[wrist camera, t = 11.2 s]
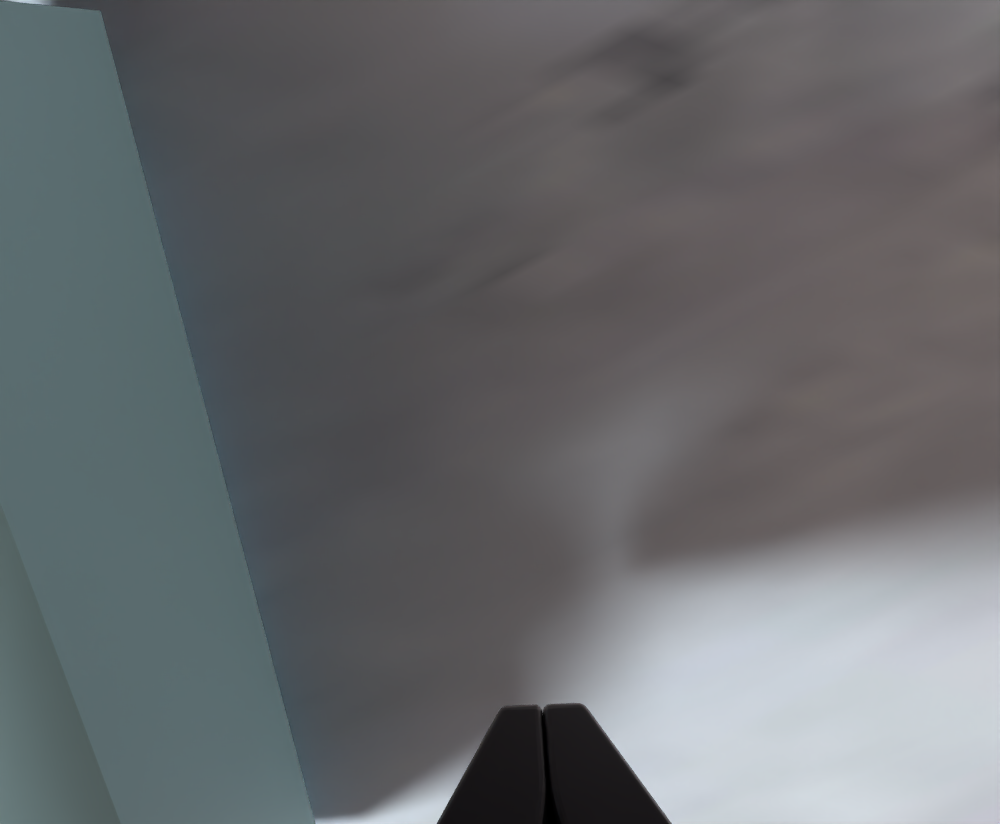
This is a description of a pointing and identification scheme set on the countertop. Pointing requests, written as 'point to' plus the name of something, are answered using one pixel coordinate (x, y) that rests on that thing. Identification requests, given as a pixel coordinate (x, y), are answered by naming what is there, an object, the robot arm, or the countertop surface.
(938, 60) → the countertop surface
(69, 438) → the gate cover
